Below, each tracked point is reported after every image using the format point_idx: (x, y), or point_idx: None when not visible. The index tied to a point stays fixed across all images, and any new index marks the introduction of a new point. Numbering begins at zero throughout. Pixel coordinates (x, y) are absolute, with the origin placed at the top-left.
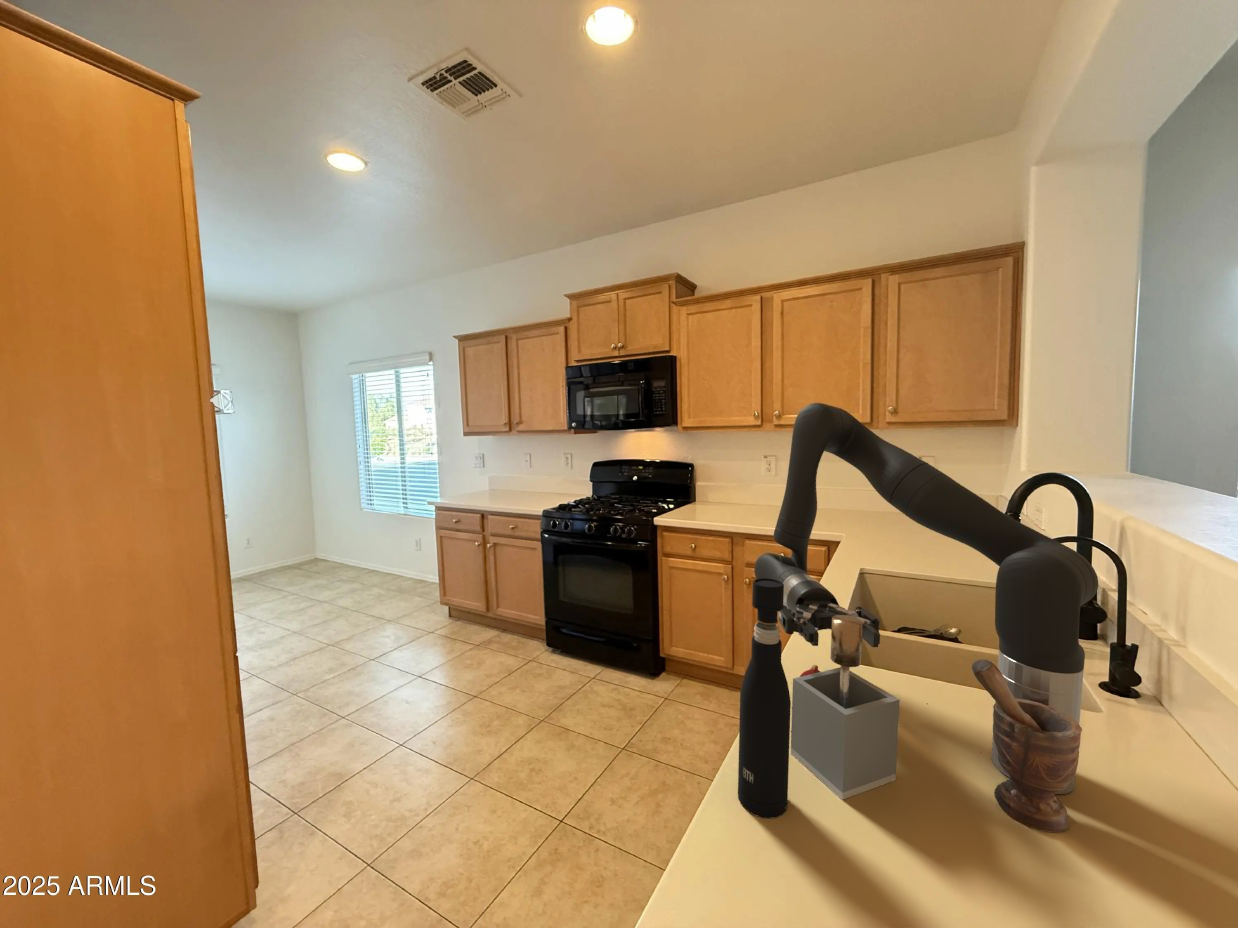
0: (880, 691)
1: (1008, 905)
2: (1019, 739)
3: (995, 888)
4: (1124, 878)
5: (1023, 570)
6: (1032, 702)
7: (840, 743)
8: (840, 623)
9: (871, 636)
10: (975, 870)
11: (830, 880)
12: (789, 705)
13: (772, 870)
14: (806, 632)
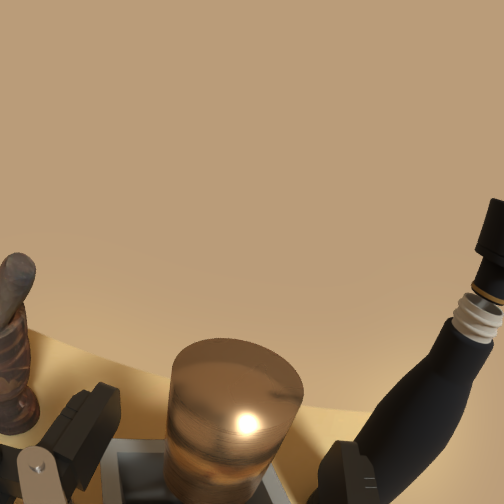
0: (113, 473)
1: (150, 381)
2: (26, 331)
3: (145, 391)
4: (35, 356)
5: None
6: None
7: None
8: (284, 365)
9: (112, 409)
10: (145, 404)
11: (291, 427)
12: (378, 404)
13: (339, 439)
14: (370, 468)
